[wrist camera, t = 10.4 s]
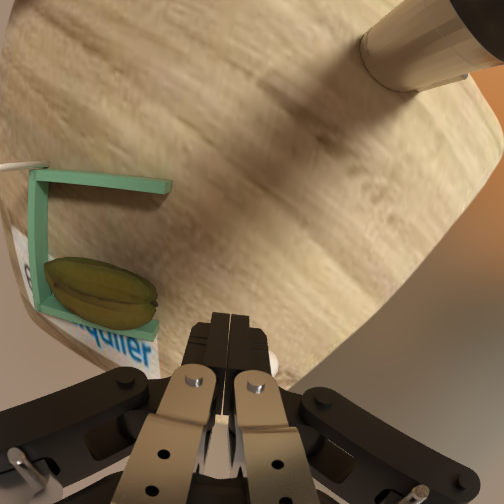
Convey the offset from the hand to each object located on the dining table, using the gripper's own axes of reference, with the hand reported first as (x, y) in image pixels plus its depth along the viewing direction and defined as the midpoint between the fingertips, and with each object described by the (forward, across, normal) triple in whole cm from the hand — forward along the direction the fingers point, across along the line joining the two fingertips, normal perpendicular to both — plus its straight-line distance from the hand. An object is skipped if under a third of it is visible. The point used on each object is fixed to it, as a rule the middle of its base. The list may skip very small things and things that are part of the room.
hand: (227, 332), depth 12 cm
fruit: (+20, +15, +8) cm, 26 cm away
